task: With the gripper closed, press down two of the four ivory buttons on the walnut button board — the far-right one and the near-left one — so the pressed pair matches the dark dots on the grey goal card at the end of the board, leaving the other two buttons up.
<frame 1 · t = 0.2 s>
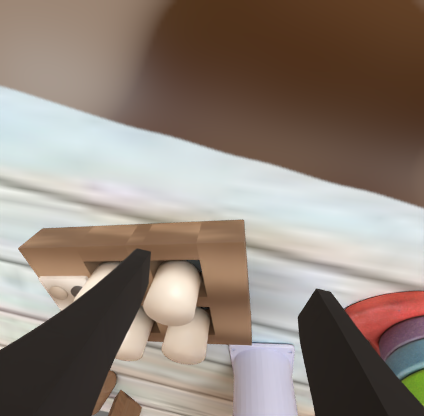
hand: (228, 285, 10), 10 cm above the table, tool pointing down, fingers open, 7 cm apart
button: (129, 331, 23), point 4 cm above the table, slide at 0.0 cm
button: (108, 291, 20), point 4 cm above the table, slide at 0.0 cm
wooden block set: (110, 373, 41), on the table
button board: (154, 277, 25), on the table
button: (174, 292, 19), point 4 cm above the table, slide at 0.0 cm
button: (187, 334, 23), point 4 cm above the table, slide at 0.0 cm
stacking bear: (404, 318, 25), on the table
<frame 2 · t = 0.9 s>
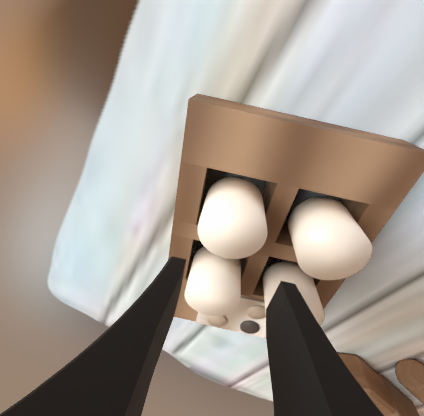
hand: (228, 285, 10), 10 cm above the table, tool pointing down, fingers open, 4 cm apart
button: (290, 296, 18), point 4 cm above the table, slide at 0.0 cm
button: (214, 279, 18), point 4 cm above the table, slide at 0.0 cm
wooden block set: (414, 364, 29), on the table
button board: (257, 233, 21), on the table
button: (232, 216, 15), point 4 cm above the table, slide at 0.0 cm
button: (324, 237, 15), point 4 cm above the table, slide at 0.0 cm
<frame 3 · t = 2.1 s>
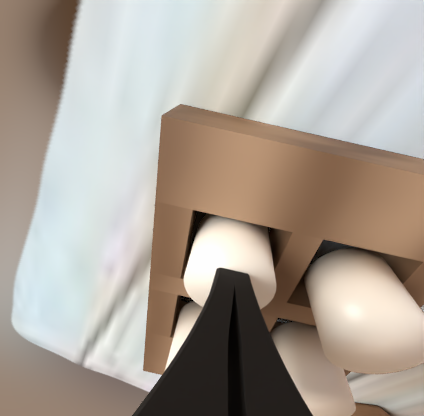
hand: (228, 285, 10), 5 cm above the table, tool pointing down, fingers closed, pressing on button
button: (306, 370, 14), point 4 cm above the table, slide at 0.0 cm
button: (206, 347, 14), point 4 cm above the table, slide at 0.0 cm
button board: (261, 278, 16), on the table
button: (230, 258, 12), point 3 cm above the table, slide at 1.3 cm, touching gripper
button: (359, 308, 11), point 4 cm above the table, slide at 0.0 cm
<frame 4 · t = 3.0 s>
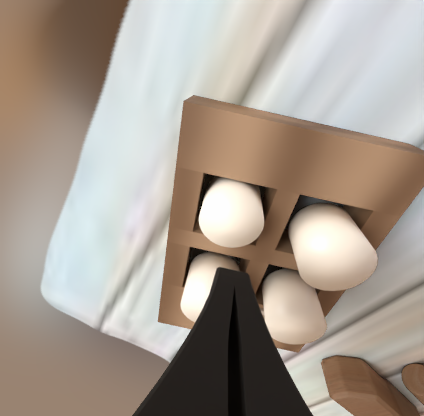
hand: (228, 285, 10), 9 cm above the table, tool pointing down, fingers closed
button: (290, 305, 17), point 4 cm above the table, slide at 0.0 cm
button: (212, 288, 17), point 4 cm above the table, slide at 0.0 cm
wooden block set: (420, 369, 28), on the table
button board: (256, 239, 20), on the table
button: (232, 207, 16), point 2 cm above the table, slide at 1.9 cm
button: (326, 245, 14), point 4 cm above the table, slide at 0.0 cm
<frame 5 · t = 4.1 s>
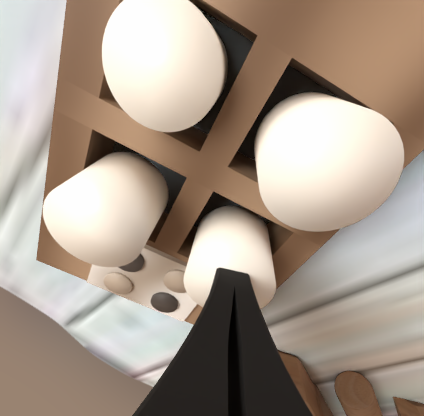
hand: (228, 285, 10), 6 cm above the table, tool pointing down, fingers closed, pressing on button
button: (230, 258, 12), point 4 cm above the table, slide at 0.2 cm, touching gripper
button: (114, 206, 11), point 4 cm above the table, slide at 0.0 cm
wooden block set: (354, 378, 25), on the table
button board: (206, 166, 14), on the table
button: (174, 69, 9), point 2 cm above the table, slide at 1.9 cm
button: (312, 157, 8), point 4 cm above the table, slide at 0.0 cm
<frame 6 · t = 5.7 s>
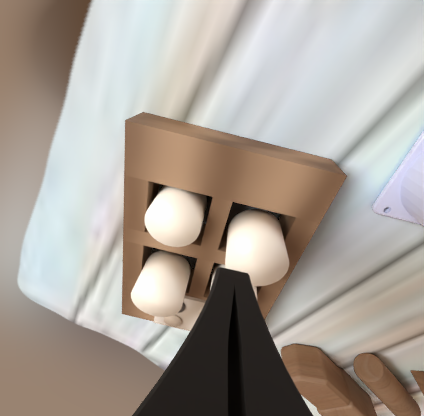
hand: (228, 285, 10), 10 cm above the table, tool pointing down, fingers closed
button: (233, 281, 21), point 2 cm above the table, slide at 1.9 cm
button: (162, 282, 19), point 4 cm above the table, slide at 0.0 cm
wooden block set: (372, 359, 30), on the table
button board: (209, 240, 22), on the table
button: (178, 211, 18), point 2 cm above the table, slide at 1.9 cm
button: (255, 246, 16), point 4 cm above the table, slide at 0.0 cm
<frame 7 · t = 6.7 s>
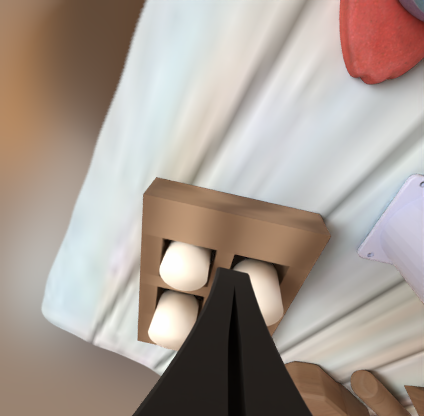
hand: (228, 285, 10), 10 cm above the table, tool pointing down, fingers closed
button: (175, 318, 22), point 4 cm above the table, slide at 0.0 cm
wooden block set: (368, 374, 32), on the table
button board: (214, 276, 25), on the table
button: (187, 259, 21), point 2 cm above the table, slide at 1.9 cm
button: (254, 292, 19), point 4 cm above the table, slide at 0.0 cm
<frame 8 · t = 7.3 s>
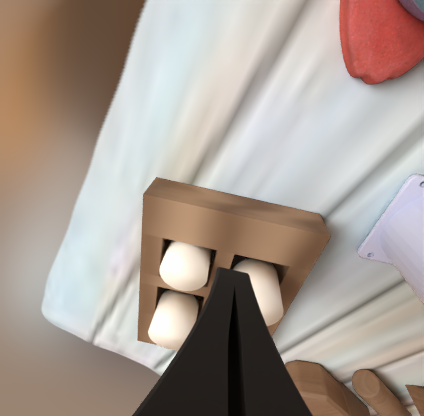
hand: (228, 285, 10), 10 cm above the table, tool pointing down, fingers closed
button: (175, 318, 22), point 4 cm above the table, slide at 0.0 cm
wooden block set: (370, 374, 32), on the table
button board: (214, 276, 25), on the table
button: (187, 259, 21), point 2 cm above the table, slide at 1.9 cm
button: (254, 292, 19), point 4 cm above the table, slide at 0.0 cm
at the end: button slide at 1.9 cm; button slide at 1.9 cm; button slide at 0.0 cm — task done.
